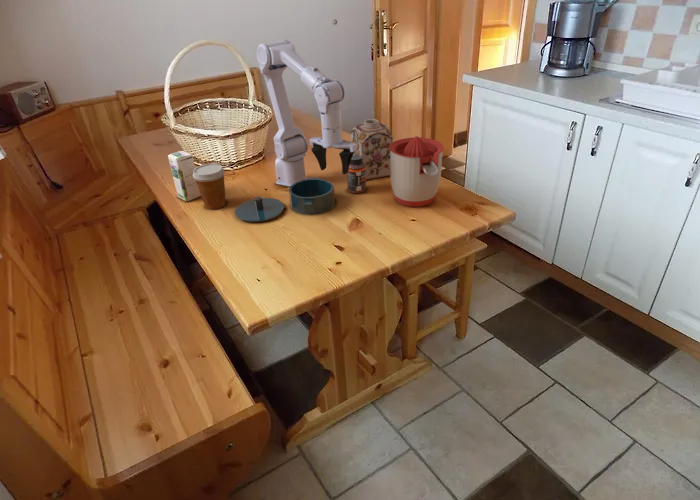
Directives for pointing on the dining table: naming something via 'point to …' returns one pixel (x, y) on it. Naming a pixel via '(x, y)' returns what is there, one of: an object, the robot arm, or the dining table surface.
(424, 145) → the citrus juicer
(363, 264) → the dining table surface
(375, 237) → the dining table surface
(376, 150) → the decorative jar
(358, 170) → the supplement bottle
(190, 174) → the syrup box
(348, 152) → the robot arm
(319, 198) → the pot
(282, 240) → the dining table surface
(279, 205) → the pot lid
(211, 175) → the disposable coffee cup
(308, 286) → the dining table surface
